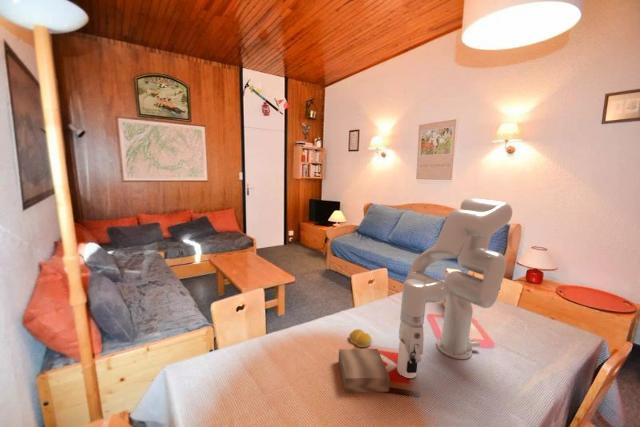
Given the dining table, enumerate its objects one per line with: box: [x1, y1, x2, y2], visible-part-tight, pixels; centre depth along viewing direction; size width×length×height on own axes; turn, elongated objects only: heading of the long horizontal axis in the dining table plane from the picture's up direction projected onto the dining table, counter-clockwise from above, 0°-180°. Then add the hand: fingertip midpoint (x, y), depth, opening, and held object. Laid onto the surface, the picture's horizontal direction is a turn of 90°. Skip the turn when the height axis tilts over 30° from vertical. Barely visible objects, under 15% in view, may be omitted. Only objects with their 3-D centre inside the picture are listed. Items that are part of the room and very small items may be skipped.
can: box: [396, 338, 419, 379], centre depth 96 cm, size 6×6×12 cm
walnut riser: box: [338, 348, 391, 394], centre depth 94 cm, size 14×14×5 cm
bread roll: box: [349, 328, 373, 348], centre depth 114 cm, size 8×9×4 cm
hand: (407, 364), depth 97 cm, fingers closed on can, 6 cm apart
